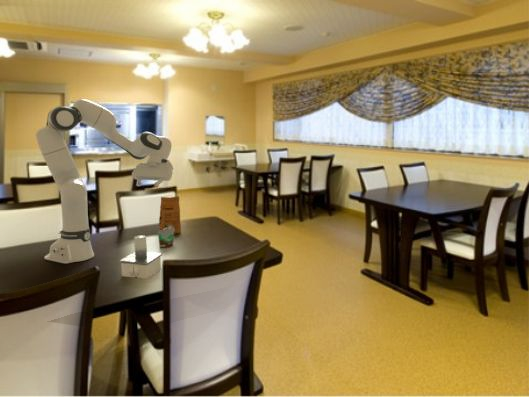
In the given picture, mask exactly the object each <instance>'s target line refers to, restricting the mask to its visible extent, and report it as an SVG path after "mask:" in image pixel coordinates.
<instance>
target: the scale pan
mask: <svg viewBox="0 0 529 397" xmlns="http://www.w3.org/2000/svg"><path fill="white" fill-rule="evenodd" d="M161 256H163V253H161V252H148V251H147V257H146V258H143V259H137V258H135V251H134V252H132V253H130V254H129V255H126V256H125V257H123V258H121V259H120V260H119V263H131V264H141V265H148V264H150V263H151V262H153V261H154V260H156V259H157V258H158V257H160V258H161Z"/></svg>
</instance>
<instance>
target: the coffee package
mask: <svg viewBox="0 0 529 397" xmlns="http://www.w3.org/2000/svg"><path fill="white" fill-rule="evenodd" d="M159 209H160V210H159V218H158V223H159V224H158V226H159V230H162V229H163V228H166V227H167V225H172V226H173V227H174V229H175V231H174V233H173V235H177V234H181V231H182V230H181V229H182V224H181V207H180V196H178V195H177V196H172V197H167V196H161V197H160V207H159Z"/></svg>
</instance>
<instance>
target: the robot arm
mask: <svg viewBox="0 0 529 397" xmlns="http://www.w3.org/2000/svg"><path fill="white" fill-rule="evenodd" d="M79 123H82V124H85V125H87V126H89V127H91V128H92V129H94V130H96V131H98V132H99V133H100V134H101V135H102V136H103V137H104V138H105V139H106V140H108V141H110V142H111V143H113V144H114V145H116V146H117V147H119V148H120V149H122V150H124V151H125V152H126V153H127V154H129V156H131V158H133V159H135V160H140V161H141V160H143V159H146V157H147V156H148V155H149V157H148V159H147V161H146V162H145V163H142V162H141V163H139V164H137V165H136V166H135V167H134V169H133V171H132V172H131V176H132V178H133V179H134V180H137V183H136V186H138V187H141V186H142V185H143V183H142V182H141V181H142V180H145V181H155V182H154V185H153V186H154V187H155V188H159V187H160V185H161V184H162V183H163V181H164V182H169V181H171V179H172V176H173V171H174V166H173V164H172V162H171V161H170V160H169V157H170V153H171V151H172V141H171V140H170V139H169V138H168V137H166V136H164V135H162V136H159V135H155V134H154V133H152V132H150V131H144V132H142V133H141V134H140V135H138V137H137V138H135V139H130V138H128V137H127V136H125V135H124V134H122V133H120V132H119V131H118V130H117V119H116V116H115V114H114V113H113V112H112V111H111V110H109V109H108V108H106V107H104V106H102V105H100V104H98V103H96V102H93V101H91V100H89V99H85V98H79V99H77V100H76V101H75V102H73V105H71V106H68V105H65V106H64V105H62V106H60V105H58V106H55V107H54V108H52V109H51V110H50V111H48V114H47V118H46V126H44V127H43V126H42V127H41V128H39V129H38V130H37V131H36V133H35V137H36V141H37V145H38V148H39V151H40V152H41V156H42V157H43V159H44V162H45V164H46V165H47V168H48V170H49V171H50V173H51V175H52V178H53V180H54V182H55V184H56V186H57V188H58V190H59V192H60V205H61V219H62V230H59V232H58V235H60V236H59V238H58V239H57V240H56V241H55V242H53V243H52V244H51V245H50V247H49V253H47V254H46V255H45V256H43V257H44V260H47V261H52V262H56V263H61V264H71V263H75V262H82V261H83V262H84V261H86V260H90V259H92V258H94V256H95V253H94V251H93V246H92V242H91V229H90V226H89V215H88V188H87V186H86V185H85V183H84V181H83V180H82V177H81V174H80V172H79V169H78V167H77V165H76V162H75V160H74V158H73V156H72V153H71V151H70V149H69V147H68V145H67V142H66V140H65V132H68V131H71V130H73V129H74V128H76V126H77V125H78V124H79Z"/></svg>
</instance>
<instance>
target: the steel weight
mask: <svg viewBox="0 0 529 397" xmlns="http://www.w3.org/2000/svg"><path fill="white" fill-rule="evenodd" d="M133 244H134V252H135V258H137V259H143V258H146V257H147V252H148V250H147V248H148V246H147V236H146V235H142V234H141V235H136V236H133Z"/></svg>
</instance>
